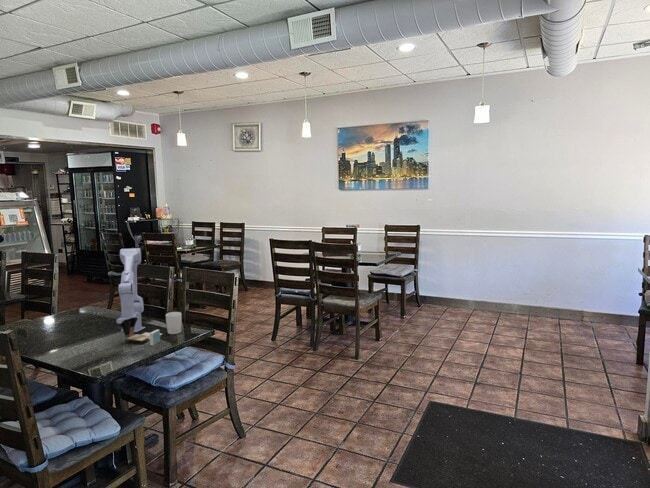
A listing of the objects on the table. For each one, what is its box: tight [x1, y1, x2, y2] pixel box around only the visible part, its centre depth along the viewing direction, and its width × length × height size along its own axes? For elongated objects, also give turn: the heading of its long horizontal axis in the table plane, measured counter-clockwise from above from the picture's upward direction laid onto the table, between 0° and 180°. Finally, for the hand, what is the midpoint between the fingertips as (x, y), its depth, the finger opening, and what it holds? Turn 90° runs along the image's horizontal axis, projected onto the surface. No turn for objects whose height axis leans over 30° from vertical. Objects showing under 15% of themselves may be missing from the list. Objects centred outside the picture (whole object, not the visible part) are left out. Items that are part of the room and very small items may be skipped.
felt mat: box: [140, 332, 163, 340], centre depth 220 cm, size 10×8×1 cm
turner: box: [124, 326, 150, 342], centre depth 211 cm, size 11×6×5 cm, turn 79°
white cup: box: [165, 311, 183, 335], centre depth 225 cm, size 8×8×10 cm
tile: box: [149, 329, 161, 346], centre depth 209 cm, size 2×6×6 cm, turn 169°
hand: (129, 333), depth 212 cm, fingers closed on turner, 3 cm apart
